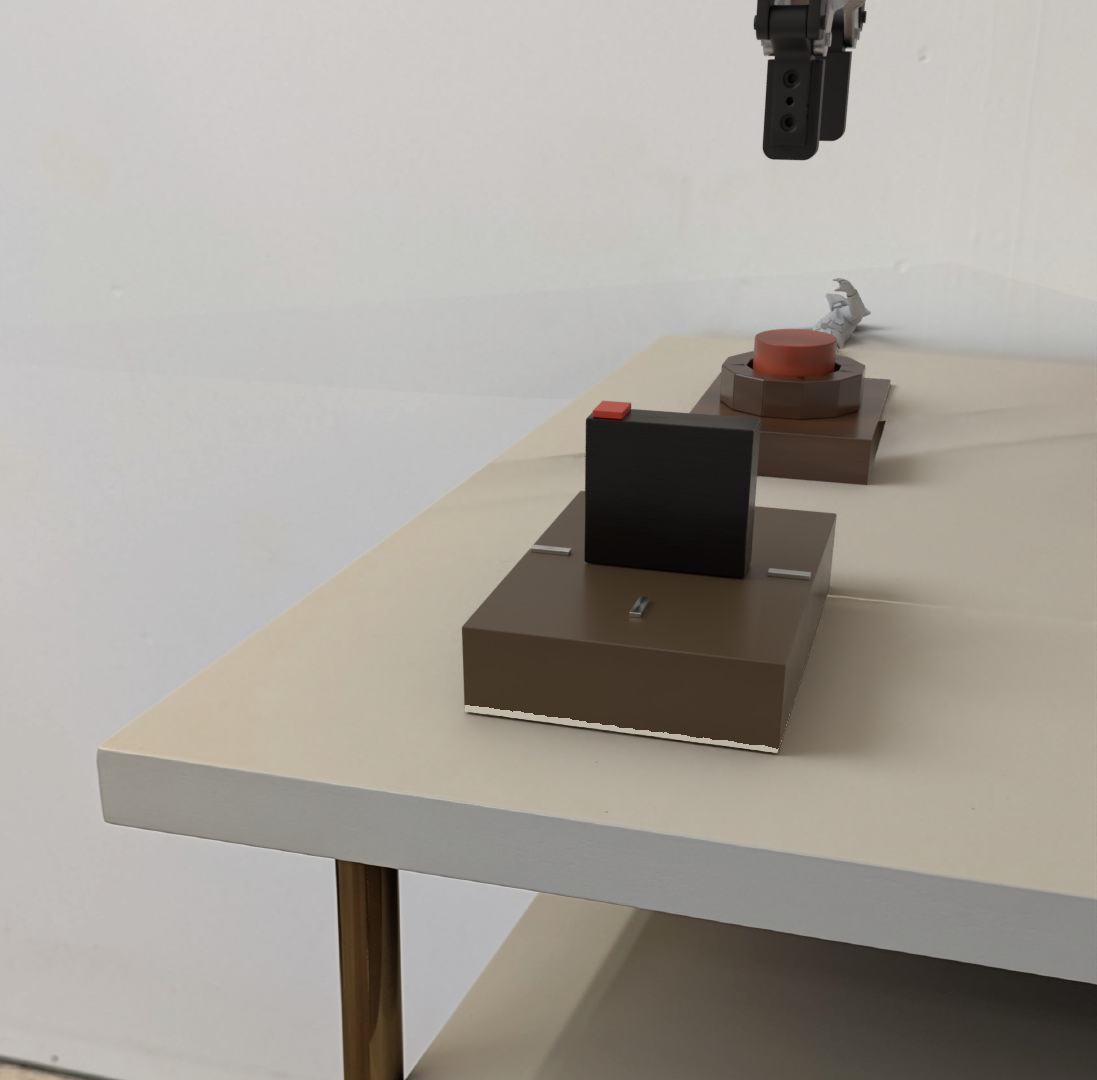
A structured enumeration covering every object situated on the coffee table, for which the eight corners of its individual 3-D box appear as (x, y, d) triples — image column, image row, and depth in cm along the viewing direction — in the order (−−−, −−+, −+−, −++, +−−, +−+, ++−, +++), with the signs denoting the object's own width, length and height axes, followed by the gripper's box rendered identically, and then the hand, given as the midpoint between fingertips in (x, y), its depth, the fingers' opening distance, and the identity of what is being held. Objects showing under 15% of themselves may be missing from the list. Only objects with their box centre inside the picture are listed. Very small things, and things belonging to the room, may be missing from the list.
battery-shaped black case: (751, 562, 48) (761, 410, 45) (743, 579, 46) (754, 423, 44) (595, 547, 49) (597, 398, 47) (583, 562, 48) (585, 410, 45)
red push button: (759, 361, 72) (761, 326, 71) (837, 366, 71) (841, 331, 70) (746, 379, 68) (749, 343, 68) (829, 385, 67) (832, 348, 67)
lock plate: (579, 561, 56) (580, 486, 55) (829, 587, 54) (837, 508, 52) (463, 713, 45) (460, 621, 43) (778, 754, 42) (786, 659, 41)
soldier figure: (716, 409, 81) (760, 306, 89) (776, 463, 82) (814, 357, 90) (812, 327, 76) (850, 225, 83) (874, 387, 77) (906, 281, 85)
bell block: (720, 408, 77) (724, 334, 76) (886, 420, 75) (894, 344, 73) (676, 470, 67) (680, 387, 65) (866, 486, 65) (876, 400, 63)
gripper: (773, -271, 61) (750, 134, 68) (703, -337, 49) (684, 163, 56) (952, -282, 59) (908, 137, 66) (924, -353, 47) (874, 169, 54)
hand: (805, 149), depth 61 cm, fingers open, 8 cm apart
